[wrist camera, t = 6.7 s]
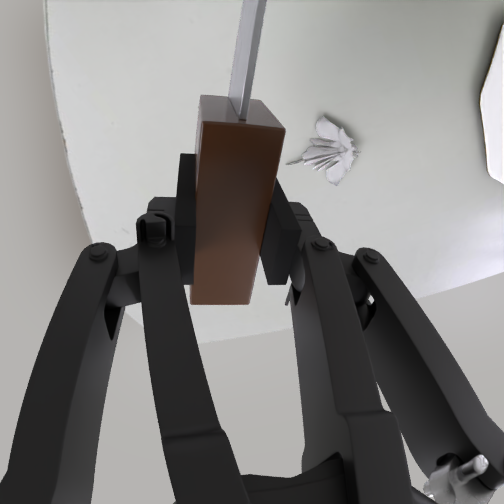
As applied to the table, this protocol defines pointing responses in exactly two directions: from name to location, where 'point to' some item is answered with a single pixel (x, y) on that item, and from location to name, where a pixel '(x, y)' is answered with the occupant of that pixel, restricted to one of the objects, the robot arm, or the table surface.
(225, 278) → the cake knife
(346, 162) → the flower
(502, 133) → the plate
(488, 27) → the table surface
